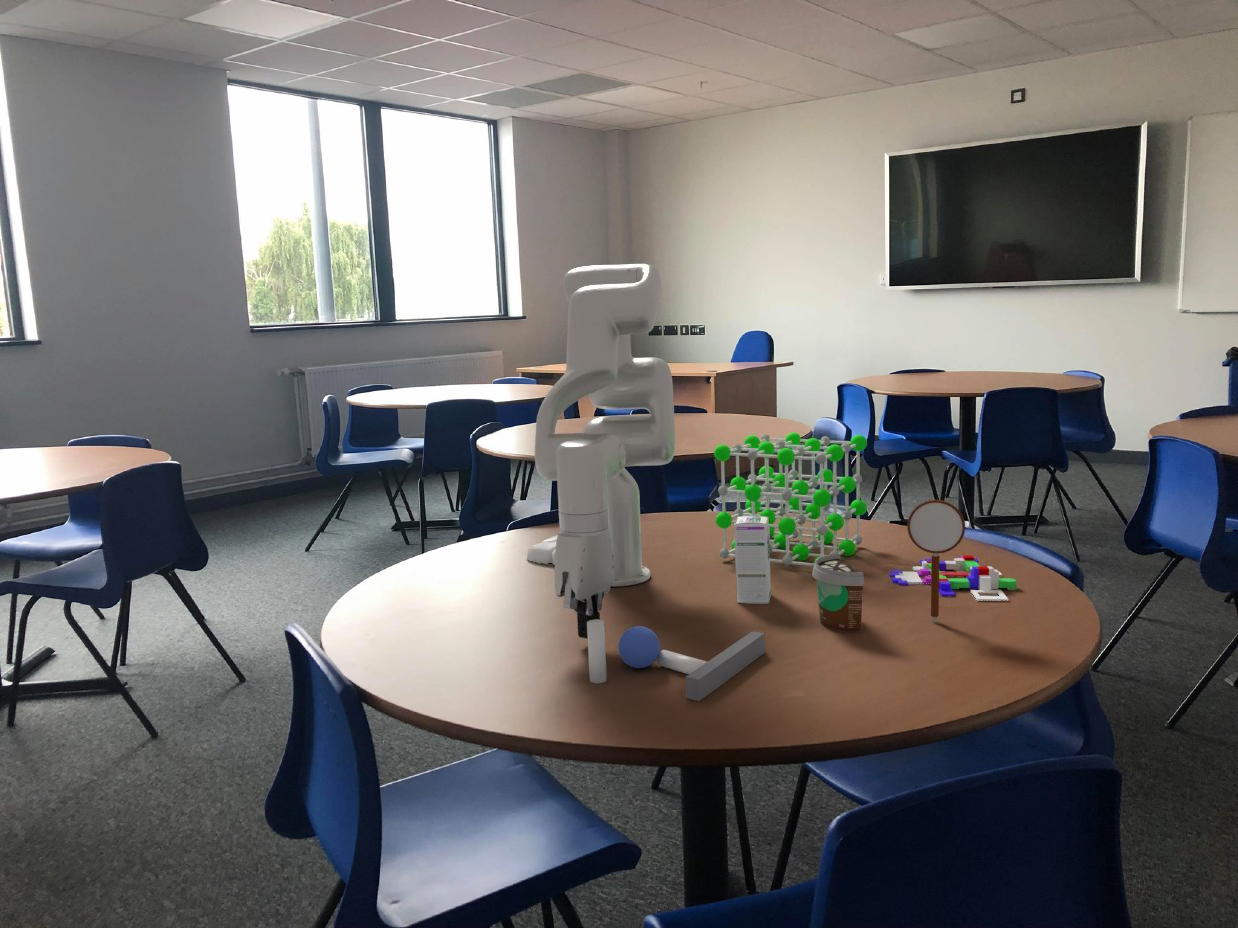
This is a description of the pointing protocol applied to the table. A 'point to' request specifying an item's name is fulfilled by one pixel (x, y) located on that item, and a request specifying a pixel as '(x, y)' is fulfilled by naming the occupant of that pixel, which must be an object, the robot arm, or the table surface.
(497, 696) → the table surface
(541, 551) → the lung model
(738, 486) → the molecular structure model
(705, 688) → the stopper wall
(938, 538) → the magnifying glass
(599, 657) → the grey pin
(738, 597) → the syrup box
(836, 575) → the food container
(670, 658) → the white pin
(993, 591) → the building block set
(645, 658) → the ball
